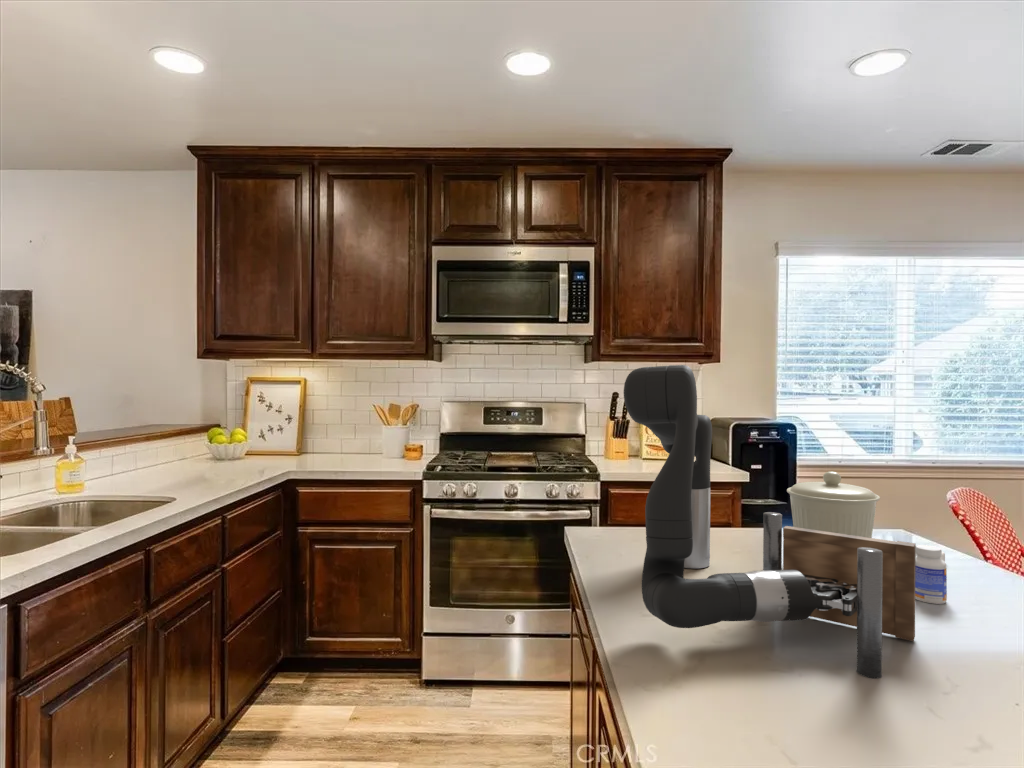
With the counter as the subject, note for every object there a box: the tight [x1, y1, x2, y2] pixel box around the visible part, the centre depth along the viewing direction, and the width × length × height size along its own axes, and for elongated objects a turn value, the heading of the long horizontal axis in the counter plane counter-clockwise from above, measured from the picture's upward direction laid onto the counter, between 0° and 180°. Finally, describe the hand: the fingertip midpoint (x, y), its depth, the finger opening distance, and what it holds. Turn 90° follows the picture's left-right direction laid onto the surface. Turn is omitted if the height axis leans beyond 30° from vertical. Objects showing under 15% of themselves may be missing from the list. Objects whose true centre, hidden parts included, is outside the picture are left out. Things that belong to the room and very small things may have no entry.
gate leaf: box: [782, 525, 917, 642], centre depth 99 cm, size 19×2×15 cm, turn 52°
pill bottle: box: [915, 544, 948, 605], centre depth 112 cm, size 5×5×10 cm
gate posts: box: [762, 511, 883, 679], centre depth 94 cm, size 26×3×17 cm, turn 8°
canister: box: [786, 471, 881, 538], centre depth 131 cm, size 18×18×21 cm
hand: (873, 591), depth 95 cm, fingers closed
